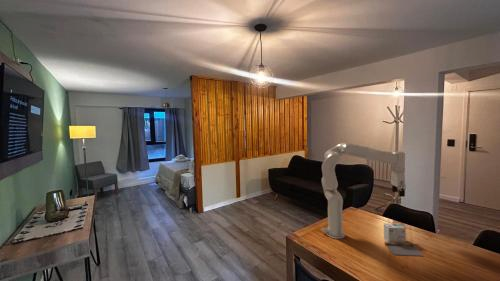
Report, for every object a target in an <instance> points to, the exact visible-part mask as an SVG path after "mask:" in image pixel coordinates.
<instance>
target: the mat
mask: <svg viewBox="0 0 500 281" xmlns="http://www.w3.org/2000/svg"><path fill="white" fill-rule="evenodd" d="M385 247H387V249H388V250H389V251H390V253H391V254H392V255H393V256H409V257H410V256H411V257H424V255H423V254H422V253H421V252H420V251H419V250H418V249H417V247H415V246H414V245H413V246H387V245H385Z"/></svg>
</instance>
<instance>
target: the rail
mask: <svg viewBox="0 0 500 281" xmlns="http://www.w3.org/2000/svg"><path fill="white" fill-rule="evenodd" d="M384 245H385V246H386V245H387V246H413V247H414V243H412V242H406V243H396V242H387V241H385V242H384Z"/></svg>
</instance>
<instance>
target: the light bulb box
mask: <svg viewBox="0 0 500 281" xmlns="http://www.w3.org/2000/svg"><path fill="white" fill-rule="evenodd" d="M406 231H407V230H406V227H405V226H404V225H402V224H401V223H398V222H397V223H396V222H395V223H383V239H384V240H385V242H396V243H407V242H406V234H407V232H406Z"/></svg>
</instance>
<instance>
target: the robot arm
mask: <svg viewBox="0 0 500 281" xmlns="http://www.w3.org/2000/svg"><path fill="white" fill-rule="evenodd" d="M323 155H324V160H323V161H322V163H321V172H322V177H321V186H322V189H323V194H324V197H325V198H326V199H327V223H328V225H327V227H325V228H324V227H321V231H322V232H324V233H326V235H327V236H328V237H330V238H332V239H336V240H339V239H340V240H341V239H344V238H345V237H346V233H345V232H344V231H343V230H344V229H343V227H344V226H343V205H344V199H343V197H342V195H341V193H340V192H339V191H338V190H337V189H338V187H339V183H338V180H337V175H336V171H335V170H336V165H338V163H339V162H340V160H341V157H342V156H346V157H347V156H348V157H354V158H357V159H363V160H367V161H373V162H378V163H383V164H387V165H391V174H390V184H391V190H392V191H391V192H392V193H398V196H399V197H403V198H405V197H406V189H407V185H406V174H405V173H406V154H405V152H404V151H401V150H400V151H399V150H398V151H397V150H396V151H395V150H394V151H387V150H385V151H382V150H380V149H379V150H378V149H375V148H371V147H368V146H364V145H359V144H354V143H348V142H341V143H339V144H337V145H336V146H334V147H332V148H330V149H328V150H326V151H325V153H324V154H323ZM398 188H399V191H398Z"/></svg>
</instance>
